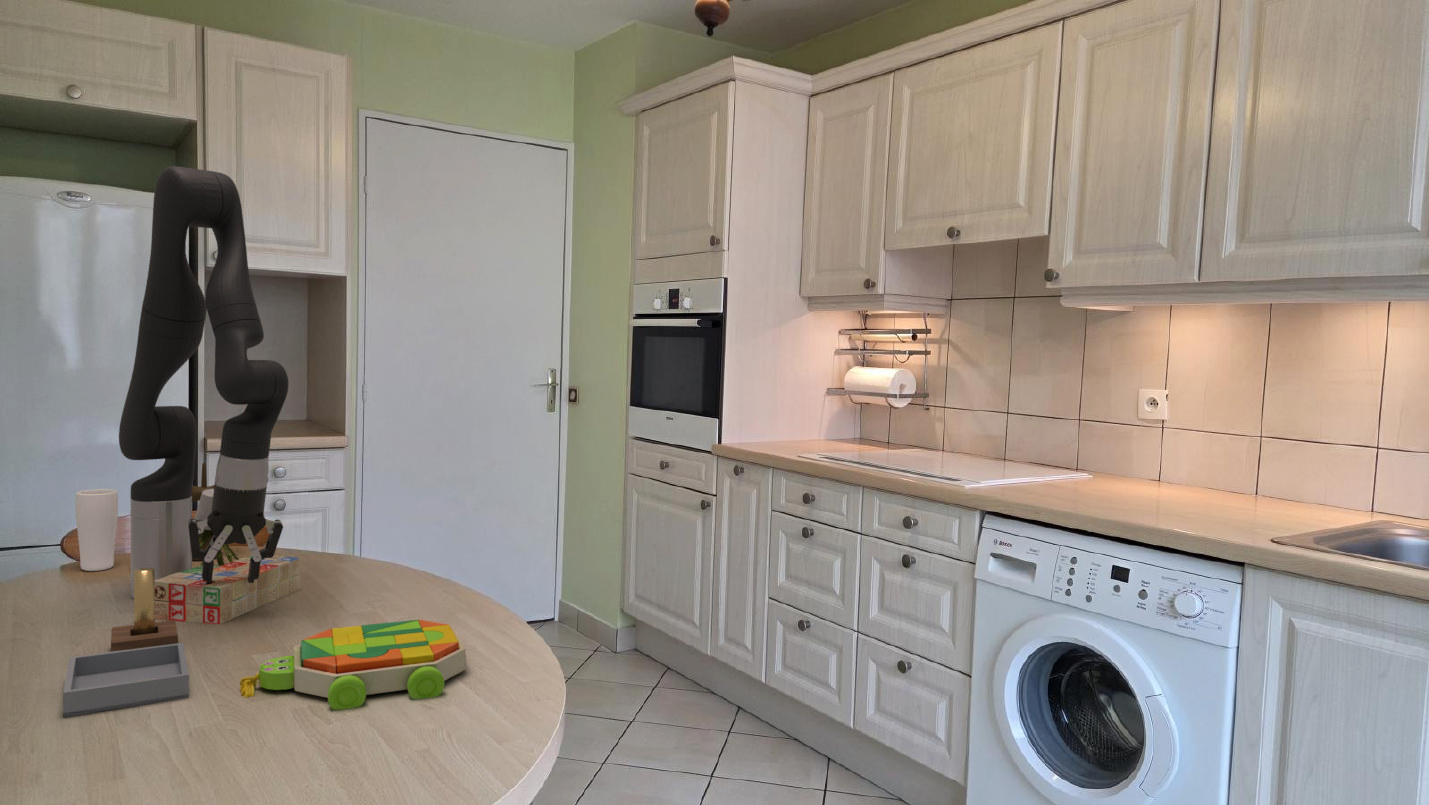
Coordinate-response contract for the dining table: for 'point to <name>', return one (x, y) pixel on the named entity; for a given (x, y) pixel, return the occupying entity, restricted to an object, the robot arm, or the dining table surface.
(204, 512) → the house plant
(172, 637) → the pin base
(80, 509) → the drinking glass
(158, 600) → the stack of blocks
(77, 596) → the dining table surface
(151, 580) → the pin
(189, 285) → the robot arm
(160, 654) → the pin tray
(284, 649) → the dining table surface
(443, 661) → the wooden turtle toy
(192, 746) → the dining table surface
